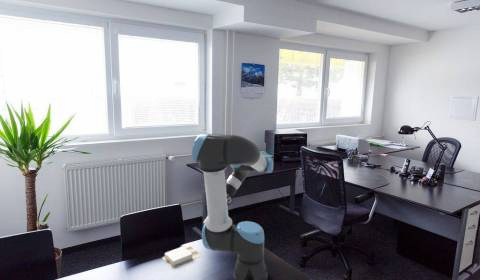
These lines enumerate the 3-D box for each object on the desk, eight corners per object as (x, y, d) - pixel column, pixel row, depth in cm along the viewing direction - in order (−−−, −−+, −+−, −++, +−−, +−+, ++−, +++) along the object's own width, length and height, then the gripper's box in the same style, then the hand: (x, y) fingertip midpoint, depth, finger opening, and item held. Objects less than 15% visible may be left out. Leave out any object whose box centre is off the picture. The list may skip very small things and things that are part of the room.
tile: (192, 253, 143) (173, 261, 137) (192, 258, 144) (173, 266, 137) (183, 246, 150) (164, 253, 144) (183, 250, 150) (164, 257, 144)
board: (202, 257, 146) (202, 255, 146) (172, 270, 136) (172, 268, 136) (190, 248, 154) (190, 246, 154) (161, 259, 144) (161, 257, 144)
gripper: (243, 192, 157) (217, 232, 149) (227, 186, 167) (203, 223, 159) (235, 185, 152) (208, 225, 145) (220, 179, 162) (194, 216, 154)
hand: (205, 224), depth 152 cm, fingers closed
